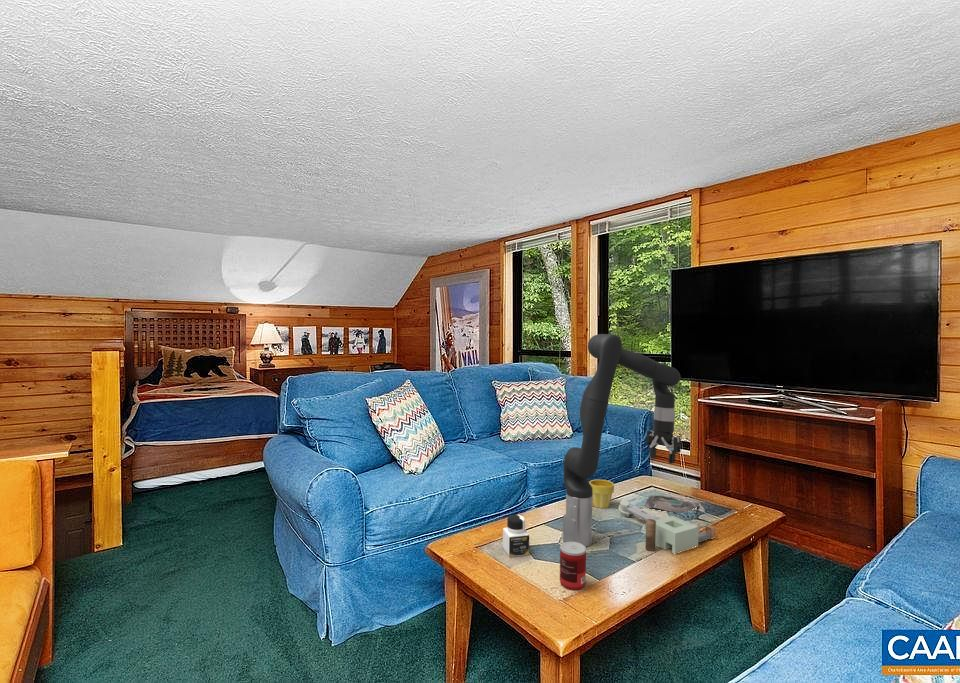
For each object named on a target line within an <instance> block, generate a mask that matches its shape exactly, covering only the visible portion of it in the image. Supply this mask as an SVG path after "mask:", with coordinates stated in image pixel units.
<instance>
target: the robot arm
mask: <svg viewBox="0 0 960 683" xmlns="http://www.w3.org/2000/svg"><path fill="white" fill-rule="evenodd" d="M587 350H588V353H589V354H590V355H591V356H592V357H593V358H595V359H598V364H597V369H596V372H595V373H594V376H593V377H592V378H591V380H590V381H589V383H588V384H587V386H586V387H585V389H584V391H583V393H582V396H581V397H582V398H581V401H580V407H579V419H580V423H581V428H582V440H581V441H582V442H581V446H580V447H581V448H580V447H577V446H576V447H575V446H574V447H571V448H569V449H568V450H567V451H566V453H565V455H564V459H563V483H564V487H565V490H566V491H565V514H563V516H562V517H563V524H562V527H563V528H562V529H563V530H562V541H563V543H565V542H577V543H580V544H582V545H584V546H585V547H590V546H591V545H592V538H593V532H592V531H593V501H592V500H593V489H592V486H591V485H590V484H589V482H590V481H588V479H591V478H592V477H593V476H595V474H596V472H597V469H598V468H599V461H600V451H601V450H600V448H601V442H602V437H603V436H602V434H603V429H604V425H605V419H606V415H607V412H608V406H609V400H610V395H611V390H612V387H613V384H614V383H613V382H614V377H615V374H616V371H617V368H618V365H619V366H621V367H624V368H625V369H628V370H630V371H633V372H634V373H637V374H638V375H640V376H643V377H645V378H648V379H651V382H652V383H651V384H652V386H653V391H654V396H655V399H654V400H655V401H654V411H653V422H652V423H653V427H652V429H650V430H647V431H646V440H645V445H646V446H648V447H649V455H650V458H652V459H655V458H656V457H657V446H658V445H661V446H662V447H663V446H664V447H665V448H666V449H667V450H668V452H669V453H668V464H670V465H671V464H674V463H676V462H675V461H676V454H680V453H681V437H680V436H674V432H675V417H676V415H675V414H676V413H675V402H676V399H675V394H674V392H672V391H670V389H669V388H668V387H673V386H677V385H678V384H679V383H680V381H681V374H680V372H679V370H678V369H677V368H675V367H673V366H670V365H667V364H664V363H661V362H658V361H656V360H654V359H652V358H650V357H648V356H645V355H644V354H642V353H641V354H640V353H639V352H635V351H631V350H628V349H626V348H623V342H622V340H621V338H620V337H619V336H618V335H616V334H613V333H612V334H611V333H607V334H606V333H599V334H594V335H592V336H591V338H589V340H588V342H587Z"/></svg>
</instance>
